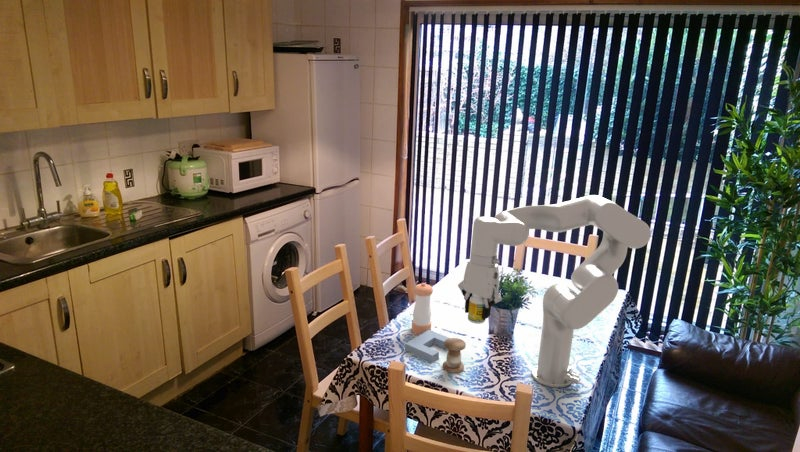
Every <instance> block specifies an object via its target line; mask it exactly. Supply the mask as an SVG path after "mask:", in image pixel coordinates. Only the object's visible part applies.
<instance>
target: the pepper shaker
mask: <svg viewBox="0 0 800 452" xmlns="http://www.w3.org/2000/svg"><path fill="white" fill-rule="evenodd" d="M433 291H434V288H433V287H432V286H431V285H430V284H427V283H425V282H422V283H417V284H416V285H415V286H414V287H413V292H414V294H415V302H414V303H415V304H414V307H413V311H412V312H413V314H412V322H411V332H412V333H413V334H415V335H418V336H419V335H421V334H422V333H424V332H426V331H428V330H431V331H432V321H431V319H432V317H431V316H432V312H431V296H432V294H433Z"/></svg>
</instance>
